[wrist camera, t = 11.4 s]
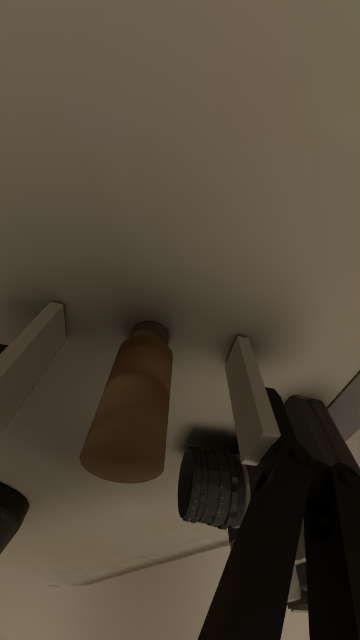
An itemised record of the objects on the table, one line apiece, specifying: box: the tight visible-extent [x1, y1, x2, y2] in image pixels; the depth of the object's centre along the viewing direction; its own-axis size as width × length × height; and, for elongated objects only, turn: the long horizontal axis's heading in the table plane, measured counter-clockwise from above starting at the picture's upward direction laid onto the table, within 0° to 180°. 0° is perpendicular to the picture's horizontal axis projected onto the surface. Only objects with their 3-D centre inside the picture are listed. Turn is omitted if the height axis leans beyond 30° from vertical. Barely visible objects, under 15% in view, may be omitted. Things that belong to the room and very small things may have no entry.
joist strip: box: [327, 372, 360, 441], centre depth 21 cm, size 4×17×1 cm, turn 169°
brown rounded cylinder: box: [80, 321, 173, 483], centre depth 12 cm, size 3×3×8 cm
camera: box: [178, 396, 360, 613], centre depth 19 cm, size 16×10×10 cm, turn 165°
